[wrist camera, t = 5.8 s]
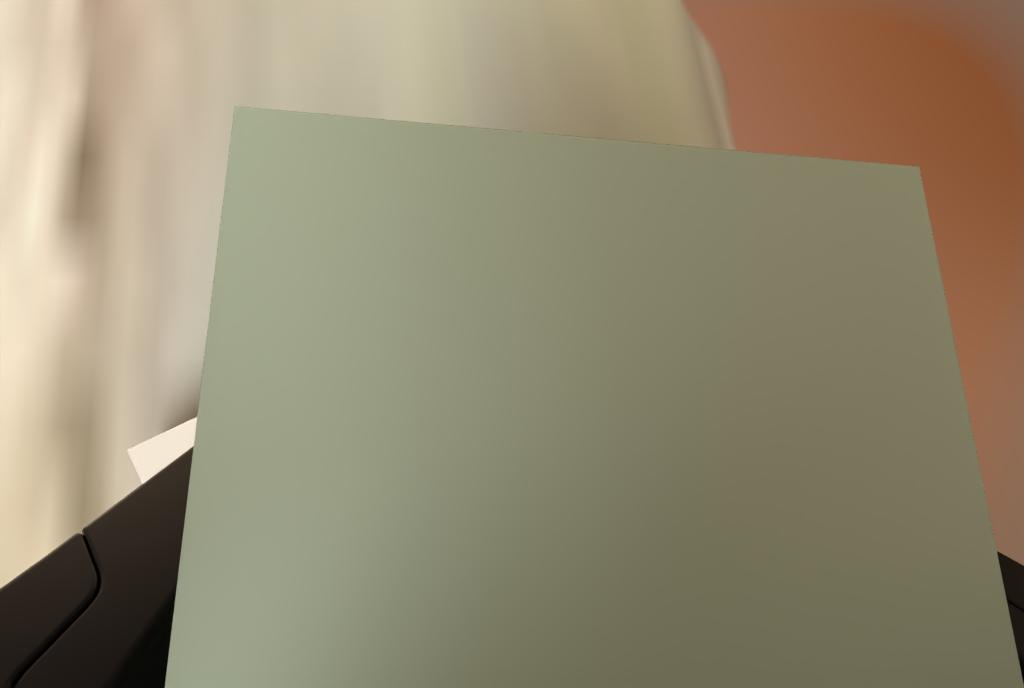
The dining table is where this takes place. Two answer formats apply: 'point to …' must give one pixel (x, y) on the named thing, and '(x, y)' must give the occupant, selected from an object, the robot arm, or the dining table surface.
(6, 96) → the dining table surface
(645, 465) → the sage block
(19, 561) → the dining table surface
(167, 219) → the dining table surface
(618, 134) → the dining table surface
